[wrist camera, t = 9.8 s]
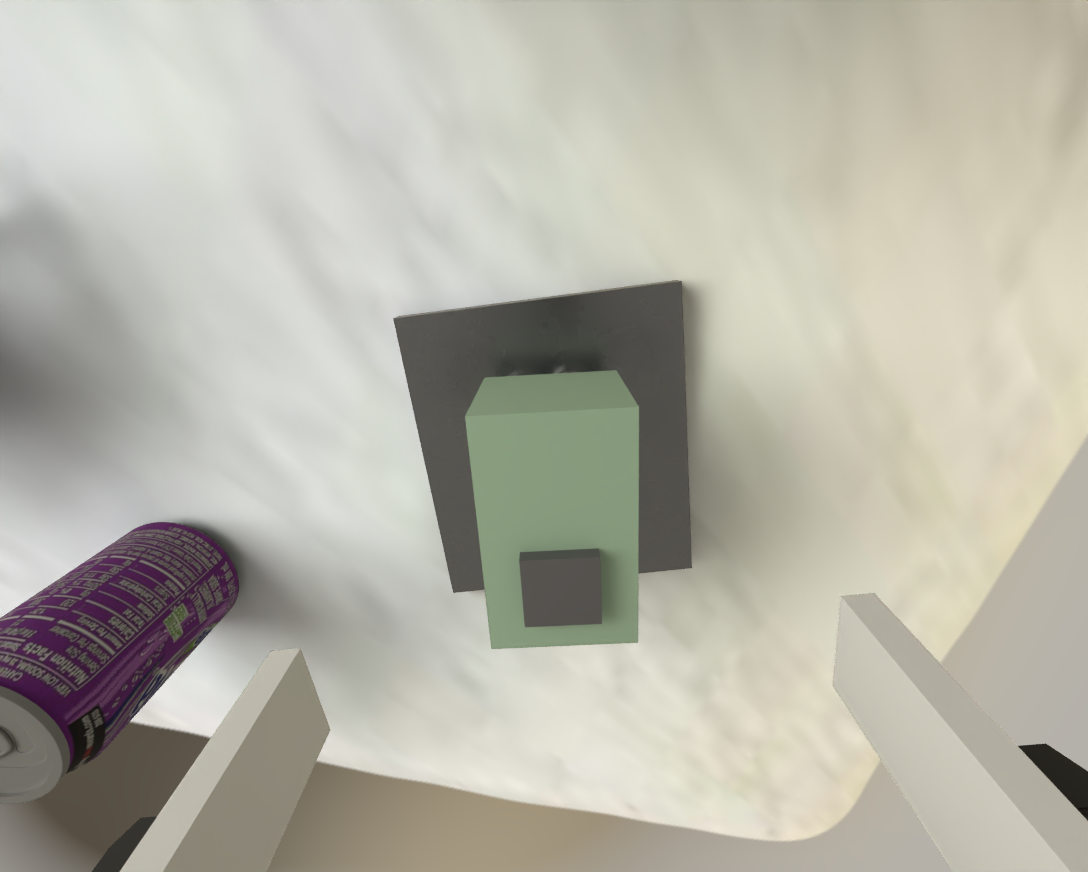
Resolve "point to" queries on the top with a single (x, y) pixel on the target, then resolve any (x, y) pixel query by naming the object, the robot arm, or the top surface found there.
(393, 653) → the top surface
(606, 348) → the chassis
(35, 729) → the beverage can
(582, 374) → the green block
